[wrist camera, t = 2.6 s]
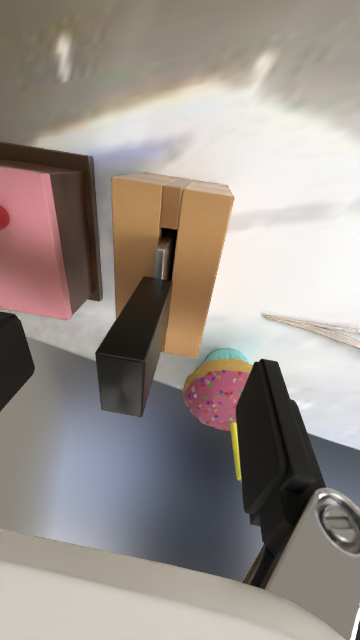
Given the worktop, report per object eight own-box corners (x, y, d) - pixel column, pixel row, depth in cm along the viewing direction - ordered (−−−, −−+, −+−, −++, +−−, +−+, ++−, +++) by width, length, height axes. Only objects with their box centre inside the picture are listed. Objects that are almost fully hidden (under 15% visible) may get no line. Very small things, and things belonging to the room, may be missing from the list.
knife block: (145, 172, 17) (110, 176, 12) (227, 185, 17) (234, 196, 11) (140, 300, 24) (116, 344, 18) (201, 310, 23) (197, 359, 18)
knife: (170, 215, 18) (89, 311, 6) (190, 219, 18) (147, 322, 6) (163, 286, 21) (102, 432, 10) (180, 289, 21) (140, 439, 10)
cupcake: (276, 374, 27) (312, 497, 17) (212, 396, 30) (211, 509, 20) (240, 321, 24) (258, 436, 14) (173, 353, 27) (149, 463, 17)
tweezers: (463, 332, 21) (482, 347, 20) (423, 368, 24) (437, 383, 22) (273, 287, 22) (276, 297, 21) (256, 326, 25) (257, 337, 23)
